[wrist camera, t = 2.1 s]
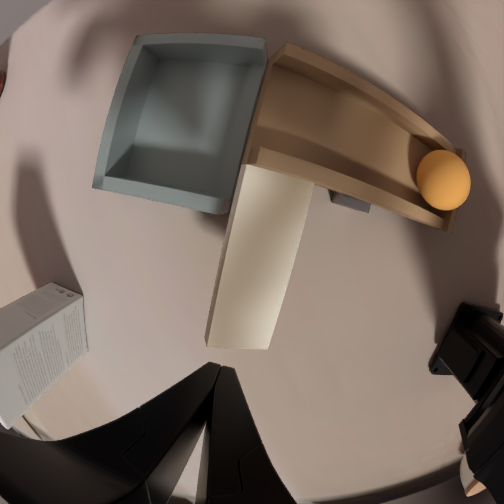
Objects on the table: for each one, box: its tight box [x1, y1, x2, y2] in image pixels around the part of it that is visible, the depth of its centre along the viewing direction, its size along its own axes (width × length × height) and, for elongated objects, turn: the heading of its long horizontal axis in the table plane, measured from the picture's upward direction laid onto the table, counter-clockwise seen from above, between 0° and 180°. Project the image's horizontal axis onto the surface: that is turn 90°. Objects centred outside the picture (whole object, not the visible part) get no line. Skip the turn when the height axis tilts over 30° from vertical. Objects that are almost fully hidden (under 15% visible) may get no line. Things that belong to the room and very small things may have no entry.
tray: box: [92, 33, 268, 215], centre depth 14 cm, size 8×10×3 cm
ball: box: [417, 150, 471, 210], centre depth 11 cm, size 3×3×3 cm
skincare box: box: [0, 282, 88, 429], centre depth 14 cm, size 6×4×12 cm
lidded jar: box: [460, 451, 486, 496], centre depth 15 cm, size 11×11×9 cm
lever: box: [205, 42, 466, 349], centre depth 12 cm, size 12×13×2 cm
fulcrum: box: [332, 191, 371, 213], centre depth 14 cm, size 2×6×2 cm, turn 167°
